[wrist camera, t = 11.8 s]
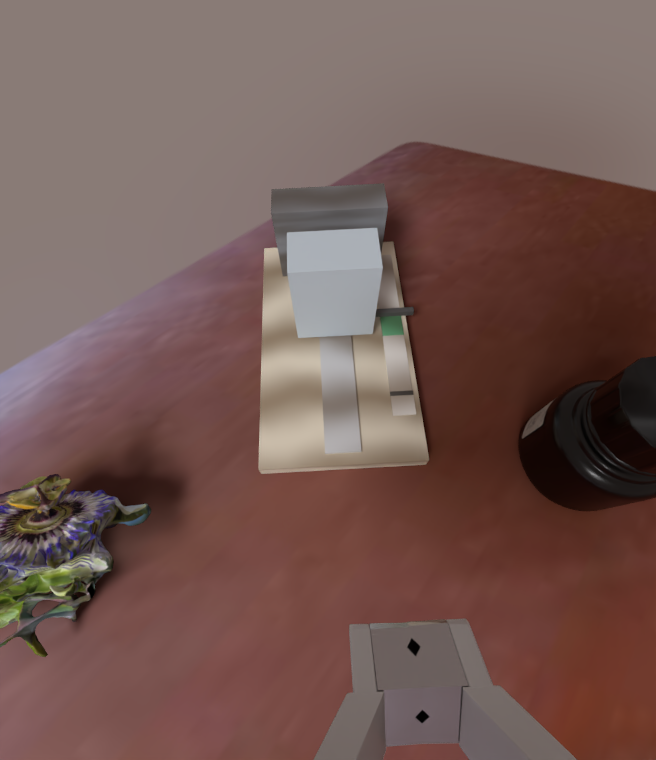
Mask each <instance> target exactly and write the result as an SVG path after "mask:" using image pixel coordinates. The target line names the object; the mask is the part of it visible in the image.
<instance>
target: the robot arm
mask: <svg viewBox="0 0 656 760" xmlns="http://www.w3.org/2000/svg"><path fill="white" fill-rule="evenodd" d="M349 634H350V650H351V667H352V683H353V693H347V695H346V697H345V699H344V701H343V703H342V704H341V706H340V708H339V710H338V712H337V714H336V716H335V718H334V720H333V722H332V724H331V726H330V728H329V730H328V732H327V734H326V736H325V738H324V740H323V742H322V744H321V746H320V748H319V750H318V752H317V754H316V756H315V758H314V760H383V757H384V754H385V751H386V747H387V746H399V745H411V744H430V743H459V746H460V747H461V749H462V750H463V751H464V753H465V754H466V755H467V757H468V758H469V760H577V759H576V758H575V757H574V756H573V755H572V754H571V753H570V752H569V751H568V750H567V749H565V748H564V747H563V746H562V745H561V744H560V743H559V742H558V741H557V740H556V739H555V738H554V737H553V736H552V735H551V734H550V733H549V732H548V731H547V730H546V729H545V728H544V727H543V726H541V725H540V724H539V723H538V722H537V721H536V720H535V719H534V718H533V717H532V716H531V715H530V714H529V713H528V712H527V711H526V710H525V709H524V708H523V707H522V706H521V705H520V704H519V703H517V702H516V701H515V700H514V699H513V698H512V697H511V696H510V695H509V694H508V693H507V692H506V691H505V690H504V689H503V688H502V687H501V686H493V683H492V680H491V678H490V675H489V673H488V670H487V668H486V665H485V663H484V660H483V658H482V655H481V652H480V650H479V647H478V645H477V642H476V640H475V637H474V635H473V632H472V629H471V627H470V624H469V622H468V621H467V620H466V619H450V620H445V619H441V620H427V621H412V622H407V623H373V624H350V626H349Z"/></svg>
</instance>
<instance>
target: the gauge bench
mask: <svg viewBox="0 0 656 760" xmlns="http://www.w3.org/2000/svg"><path fill="white" fill-rule="evenodd" d="M271 199H272V200H271V215H272V221H273V226H274V231H275V237H276V242H277V248H264V281H263V320H262V358H261V396H260V435H259V471H260V472H261V473H262V474H265V473H283V472H301V471H319V470H337V469H355V468H373V467H391V466H410V465H426V464H427V462H428V461H429V455H428V449H427V443H426V437H425V431H424V425H423V419H422V413H421V407H420V401H419V395H418V389H417V383H416V377H415V371H414V364H413V358H412V352H411V346H410V340H409V334H408V328H407V322H406V316H387V317H375V322H374V328H373V334H365V335H346V336H328V337H309V338H298V335H297V329H296V323H295V317H294V311H293V305H292V299H291V293H290V287H289V281H288V275H287V232H305V231H324V230H343V229H362V228H377V231H378V238H379V245H380V251H381V258H382V265H383V270H382V276H381V283H380V289H379V296H378V302H377V309H386V308H404V304H403V298H402V292H401V286H400V280H399V274H398V268H397V261H396V255H395V249H394V243H393V242H383V238H384V231H385V224H386V217H387V210H388V205H387V199H386V193H385V187H384V184H366V185H346V186H327V187H310V188H309V187H308V188H289V189H272V197H271Z"/></svg>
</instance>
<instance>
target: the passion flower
mask: <svg viewBox="0 0 656 760" xmlns="http://www.w3.org/2000/svg"><path fill="white" fill-rule="evenodd" d="M60 479H61V477H60V476H59V475H58V474H54V475H49V476H48V477H45V476H44V477H39V478H36V479H35V480H33V481H31V482H29V483H27V484H26V485H24V486H23V487H21V488H20V489H18V490H13V491H9V492H5V493H4V494H0V503H6V504H5V505H2V506H0V628H3V627H5V626H7V625H9V624H11V623H13V622H15V621H18V622H19V624H18V626H17V631H16V632H15V633H14V634H12V635H11V636H9V637H8V638H6V639H5V640H3V641H2V642H0V647H1V646H3V645H5V644H6V643H7V642H8V641H10V640H11V639H13V638H15V637H22V638H23V639H24V640H25V641H26V642H27V644H28V645H29V647H30V648H31V649H32V650H33V651H34V653H35V654H37V655H39V656H42V657H46V656H47V655H48V654H47V653H46V651H45V649H44V648H43V646H42V645H41V643H40V642H39V641H38V638H37V636H36V634H35V629H36V626H37V625H38V623H40V622H41V621H42V620H44V619H45V618H51V617H65V618H70V619H72V621H73V622H75V621H76V620H77V619H76V610H77V609H78V608H79V607H80V605H81V603H82V602H84V601H89V600H90V599H91V598H92V597H93V596H94V594H95V586H94V585H95V583H96V582H97V580H98V579H100V578H101V577H102V576H103V574H104V573H107V572H110V571H111V570H112V568H113V557H112V556H111V555H110V552H109V551H107V549H106V548H105V547H104V545H103V543H102V541H101V533H102V531H103V529H105V528H112V527H114V526H116V525H117V524H118V523H124V524H126V525H128V526H133V525H138V524H140V523H143V522H144V521H145V520H146V519H147V518H148V516H149V515H150V513H151V508H150V507H149V505H148V504H146V503H145V504H141V505H131V506H123V505H122V504H121V503H120V501H119V499H118V498H117V497H114V496H110V495H107V494H106V493H105V492H104V491H103V490H97V491H95V492H94V493H91V492H90V491H85V492H84V491H79V492H77V491H75V490H73V491H71V493H69V494H66V495H64V494H65V492H66V490H67V486H68V485H69V484H70V483H71V479H61V480H60ZM27 576H29V577H28V578H27V579H26V580H25V577H27ZM81 581H84V582H85V583H86V585H85V584H82V583H81ZM72 582H73V583H72ZM70 583H72V585H71V586H70V587H68V588H65V589H64V588H63V587H66V586H67V585H68V584H70ZM50 591H53V592H52V593H51V594H41V593H48V592H50ZM75 592H83V593H86V595H84V596H81V597H80V598H78V597H77V596H76V595H74V593H75ZM42 600H54V601H58V602H59V605H57V606H56V607H54V608H52V609H51V610H49V611H48V612H46V613H44V614H42V615H40V616H38V617H33V616H32V610H33V608H34V607H35V606H36V604H37V603H38V602H39V601H42Z"/></svg>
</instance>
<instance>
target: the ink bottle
mask: <svg viewBox="0 0 656 760" xmlns="http://www.w3.org/2000/svg"><path fill="white" fill-rule="evenodd" d="M519 454H520V459H521V462H522V465H523V468H524V470H525V472H526V474H527V476H528V478H529V479H530V481H531V482H532V484H533V485H534V486H535V487H536V488H537V490H538V491H539V492H540V493H542V494H543V495H544V496H545V497H546V498H548V499H549V500H551V501H553V502H554V503H556V504H558V505H561V506H563V507H566V508H569V509H573V510H579V511H597V510H602V509H607V508H612V507H616V506H621V505H626V504H630V503H635V502H640V501H644V500H648V499H652V498H655V497H656V356H654V357H647V358H640V359H638V360H637V361H635V362H634V363H632V364H631V365H630V366H628V367H627V368H625V369H624V370H622V371H621V372H619V373H618V374H616V375H615V376H614V377H612V378H611V379H609V380H595V381H588V382H584V383H580V384H578V385H575V386H573V387H571V388H569V389H568V390H566V391H565V392H563V393H562V394H561V395H559V396H558V397H557V398H555V399H554V400H553V401H551V402H550V403H549V404H548V405H546V406H545V407H544V408H542V409H541V410H540V411H538V412H537V413H536V414H535V415H533V416H532V417H531V418H530V419H529V420H528V421H527V422H526V424H525V425H524V427H523V429H522V431H521V434H520V438H519Z"/></svg>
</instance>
